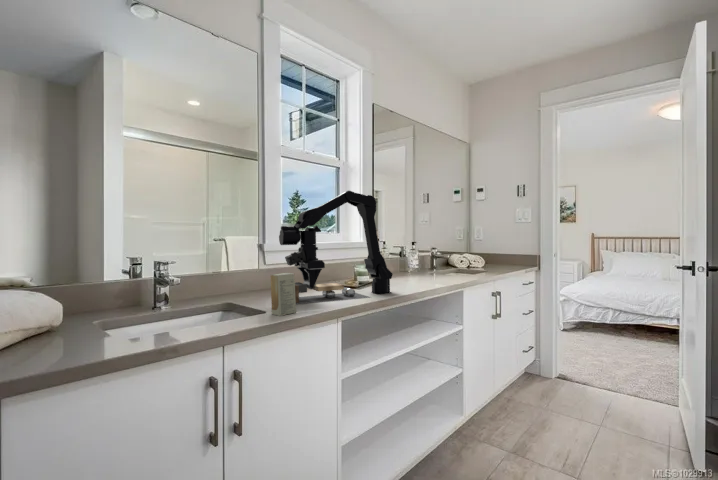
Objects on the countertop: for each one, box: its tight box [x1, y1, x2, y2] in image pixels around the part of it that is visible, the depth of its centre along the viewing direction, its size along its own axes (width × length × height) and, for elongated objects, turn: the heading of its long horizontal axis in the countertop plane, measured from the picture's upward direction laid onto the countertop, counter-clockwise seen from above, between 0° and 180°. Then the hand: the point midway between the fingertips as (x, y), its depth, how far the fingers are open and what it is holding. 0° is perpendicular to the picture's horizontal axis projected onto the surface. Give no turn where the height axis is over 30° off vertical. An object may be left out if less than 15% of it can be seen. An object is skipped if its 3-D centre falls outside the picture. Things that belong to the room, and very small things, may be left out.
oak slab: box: [312, 282, 345, 292], centre depth 141 cm, size 10×8×2 cm
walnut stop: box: [295, 281, 308, 303], centre depth 136 cm, size 6×10×6 cm, turn 25°
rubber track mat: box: [296, 292, 372, 306], centre depth 141 cm, size 30×16×1 cm, turn 115°
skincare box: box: [270, 272, 297, 317], centre depth 114 cm, size 6×4×12 cm
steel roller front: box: [321, 290, 336, 299], centre depth 141 cm, size 3×6×3 cm
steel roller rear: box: [341, 286, 356, 297], centre depth 145 cm, size 3×6×3 cm
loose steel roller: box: [302, 280, 316, 290], centre depth 138 cm, size 3×6×3 cm, turn 25°
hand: (309, 286), depth 138 cm, fingers closed on loose steel roller, 6 cm apart
